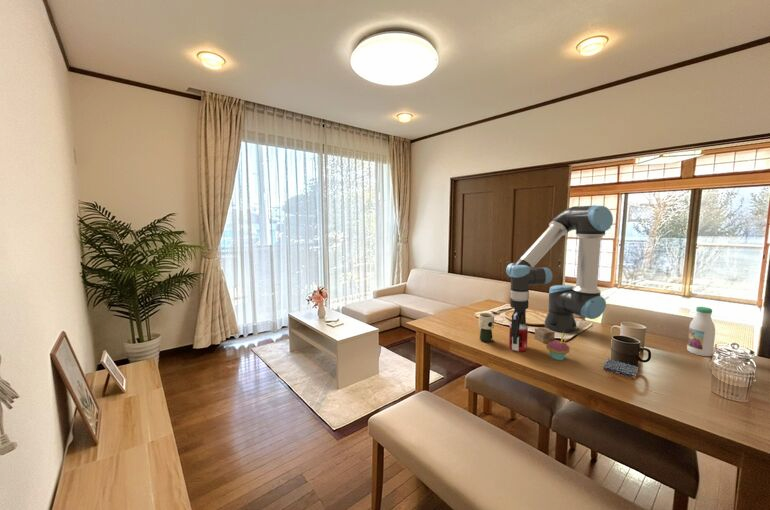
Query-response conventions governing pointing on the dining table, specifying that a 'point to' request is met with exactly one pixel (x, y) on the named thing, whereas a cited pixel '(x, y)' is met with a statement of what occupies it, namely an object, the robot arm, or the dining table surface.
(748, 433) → the dining table surface
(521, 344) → the canned food
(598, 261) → the robot arm
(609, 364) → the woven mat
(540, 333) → the walnut block
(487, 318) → the character mug
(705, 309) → the milk bottle
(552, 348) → the cupcake
